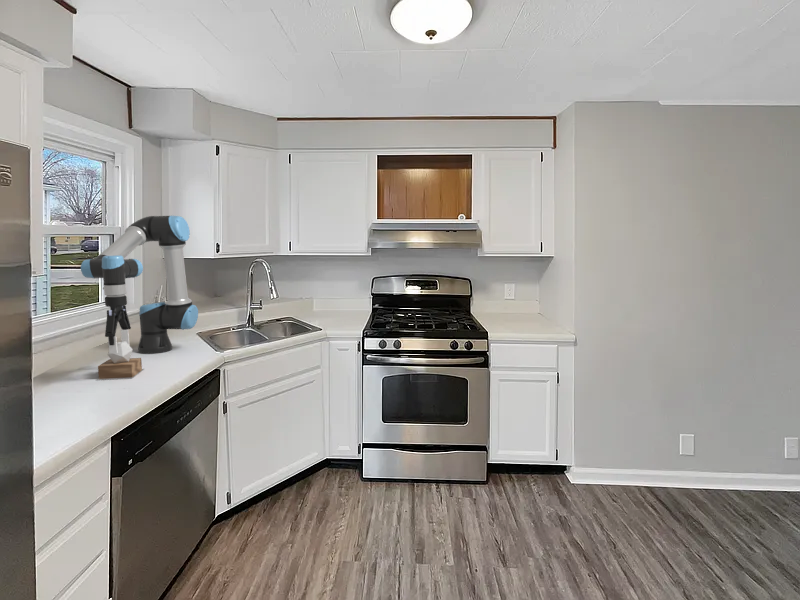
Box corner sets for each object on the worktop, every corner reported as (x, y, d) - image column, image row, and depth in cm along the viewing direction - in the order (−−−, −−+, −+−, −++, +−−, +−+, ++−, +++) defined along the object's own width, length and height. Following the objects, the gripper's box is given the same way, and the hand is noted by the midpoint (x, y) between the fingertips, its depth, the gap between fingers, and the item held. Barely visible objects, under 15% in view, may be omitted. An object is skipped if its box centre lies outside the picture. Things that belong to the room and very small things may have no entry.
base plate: (111, 373, 222) (110, 370, 222) (144, 371, 224) (144, 368, 224) (95, 383, 206) (95, 380, 206) (132, 381, 208) (131, 378, 208)
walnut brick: (110, 371, 220) (109, 359, 219) (142, 370, 222) (141, 357, 221) (98, 378, 208) (97, 366, 208) (132, 377, 210) (131, 364, 209)
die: (131, 360, 220) (115, 341, 219) (141, 351, 216) (124, 333, 214) (115, 371, 214) (98, 352, 212) (125, 363, 209) (107, 344, 207)
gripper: (116, 292, 223) (120, 343, 226) (92, 299, 199) (97, 357, 201) (136, 291, 224) (139, 342, 227) (114, 299, 200) (118, 356, 202)
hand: (119, 349), depth 214 cm, fingers open, 13 cm apart
